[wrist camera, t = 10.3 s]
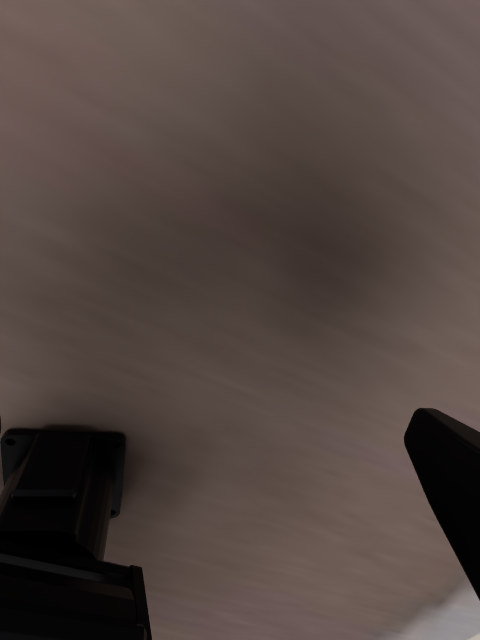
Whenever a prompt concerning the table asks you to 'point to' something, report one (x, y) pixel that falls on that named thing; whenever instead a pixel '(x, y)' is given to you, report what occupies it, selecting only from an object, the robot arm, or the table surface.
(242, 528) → the table surface
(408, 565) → the table surface
